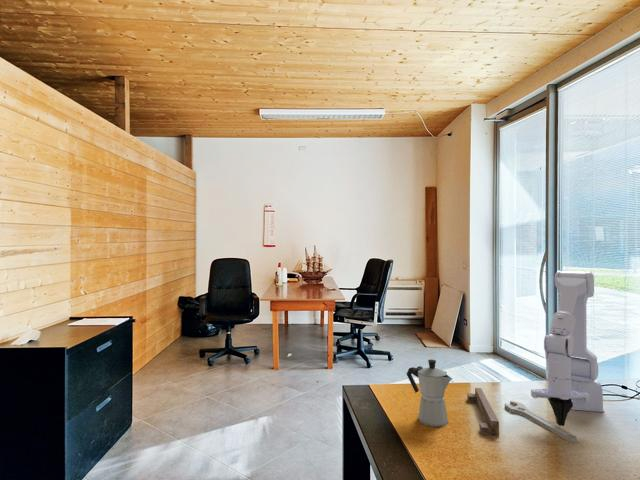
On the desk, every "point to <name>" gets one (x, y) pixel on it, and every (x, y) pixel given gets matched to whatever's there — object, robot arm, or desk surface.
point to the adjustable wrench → (539, 420)
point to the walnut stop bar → (485, 413)
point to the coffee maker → (431, 393)
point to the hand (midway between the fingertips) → (560, 424)
